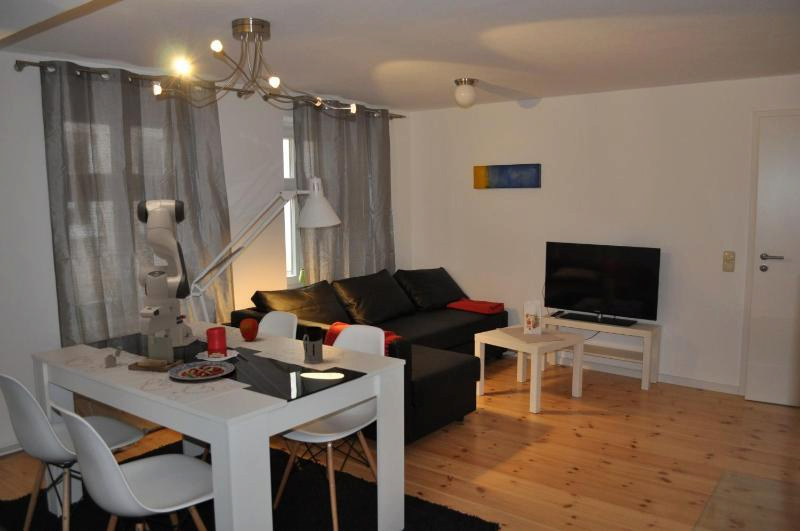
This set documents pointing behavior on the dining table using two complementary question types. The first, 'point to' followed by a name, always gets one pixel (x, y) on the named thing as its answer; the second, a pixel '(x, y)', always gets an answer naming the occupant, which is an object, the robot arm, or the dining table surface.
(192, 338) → the robot arm
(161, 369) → the walnut rack
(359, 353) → the dining table surface
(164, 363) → the offcut stack
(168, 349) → the grey-green rectangular block
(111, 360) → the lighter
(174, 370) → the ceramic plate
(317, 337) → the glass holder
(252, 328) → the apple
